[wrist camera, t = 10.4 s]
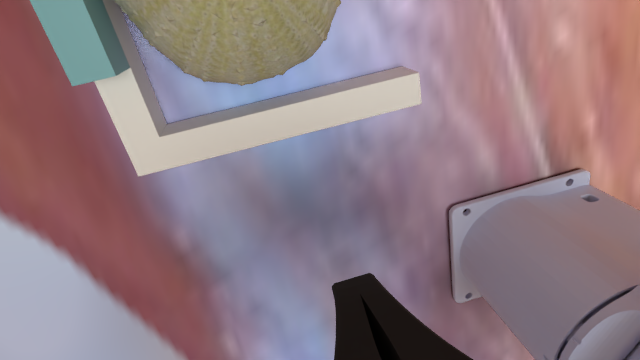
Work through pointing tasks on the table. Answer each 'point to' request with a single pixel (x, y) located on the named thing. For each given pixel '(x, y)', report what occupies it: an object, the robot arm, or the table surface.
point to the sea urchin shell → (233, 34)
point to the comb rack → (211, 129)
